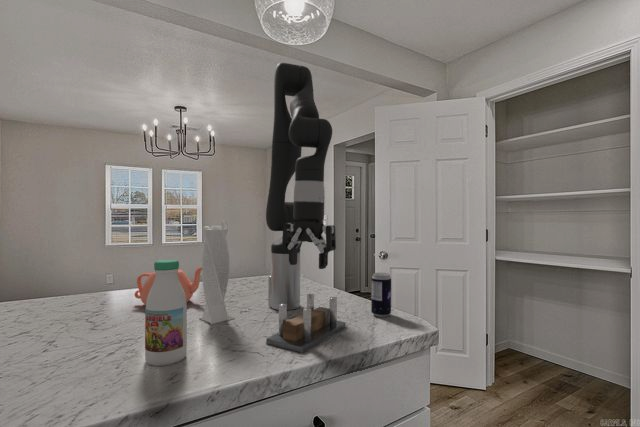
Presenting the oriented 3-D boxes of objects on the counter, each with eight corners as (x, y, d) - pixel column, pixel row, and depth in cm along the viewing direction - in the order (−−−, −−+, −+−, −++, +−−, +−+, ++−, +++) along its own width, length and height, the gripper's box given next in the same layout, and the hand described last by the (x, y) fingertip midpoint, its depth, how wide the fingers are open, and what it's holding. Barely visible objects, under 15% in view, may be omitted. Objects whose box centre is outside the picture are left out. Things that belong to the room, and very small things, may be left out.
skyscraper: (237, 321, 95) (238, 220, 95) (210, 328, 89) (211, 220, 89) (221, 314, 101) (221, 219, 101) (195, 320, 95) (195, 220, 95)
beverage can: (391, 318, 97) (391, 276, 97) (370, 317, 98) (371, 275, 98) (390, 312, 103) (391, 272, 103) (371, 311, 104) (372, 272, 104)
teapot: (209, 296, 122) (209, 261, 122) (201, 308, 106) (202, 268, 106) (142, 298, 118) (142, 262, 118) (125, 311, 103) (125, 270, 103)
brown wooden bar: (295, 341, 76) (295, 325, 76) (283, 338, 78) (283, 323, 78) (331, 322, 90) (331, 308, 90) (319, 319, 92) (319, 306, 92)
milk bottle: (154, 351, 73) (154, 258, 73) (191, 350, 74) (191, 257, 74) (138, 367, 66) (138, 263, 66) (179, 366, 66) (180, 263, 66)
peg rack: (266, 343, 78) (266, 307, 78) (313, 320, 95) (313, 290, 95) (302, 353, 73) (302, 314, 73) (345, 326, 90) (345, 295, 90)
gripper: (276, 199, 84) (275, 265, 85) (326, 200, 77) (324, 272, 77) (294, 200, 91) (293, 261, 91) (342, 201, 83) (340, 267, 83)
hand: (307, 266), depth 84 cm, fingers open, 8 cm apart
